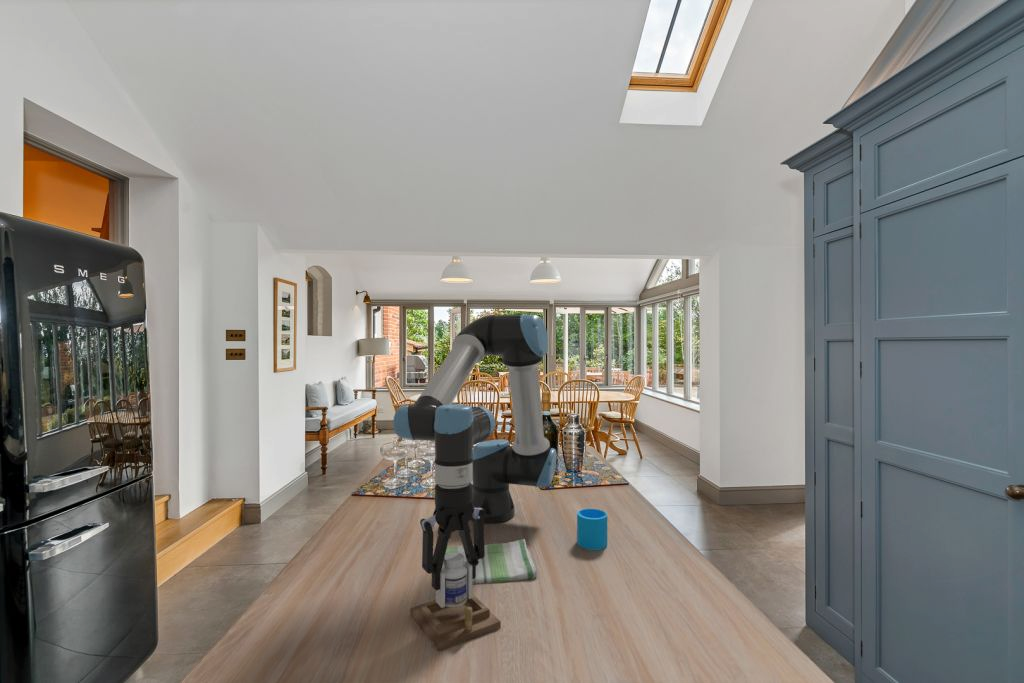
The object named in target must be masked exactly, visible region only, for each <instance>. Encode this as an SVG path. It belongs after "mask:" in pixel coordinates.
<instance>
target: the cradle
mask: <svg viewBox="0 0 1024 683" xmlns="http://www.w3.org/2000/svg"><path fill="white" fill-rule="evenodd" d="M409 611H410V613H411V614H410V616H411V617H412V616H413V617H412V618H413V619H414V621H415V620H416V621H415V622H416V623H417V624H418V625H419V628H421V629H422V631H423V632H424V634H426V636H427V638H429V640H430V642H432V644H433V645H434V646H435V648H436V650H438V651H439V652H440V651H442V650H446V649H448V648H450V647H451V648H452V647H453V646H455V645H459V644H461V643H464V642H467V641H469V640H472V639H473V638H477V637H479V636H483V635H485V634H487V633H490V632H493V631H496V630H498V629H500V628H501V624H502V623H501V620H500V619H499V618H498V617H497V616H495V614H493V613H492V611H491V610H490V609H489V607H487V606H486V605H485V603H483V602H482V601H481V600H480V599H479V598H478V597H477V596H476V595H474V593H472V598H470V599H469V598H468V597H467V601H466V603H465V604H463V605H461V606H459V607H447V606H445V607H443V608H441V607H440V606H439V605H438V604H437V602H436V599H434V600H431V601H428V602H425V603H423V604H419V605H415V606H413V607H412V606H411V607H410V610H409Z"/></svg>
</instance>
